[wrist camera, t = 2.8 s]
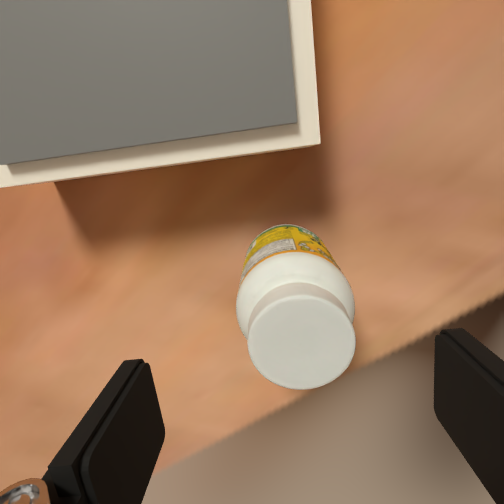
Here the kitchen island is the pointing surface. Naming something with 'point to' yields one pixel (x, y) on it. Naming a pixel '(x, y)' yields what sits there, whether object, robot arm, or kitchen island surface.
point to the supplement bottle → (295, 309)
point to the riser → (151, 84)
